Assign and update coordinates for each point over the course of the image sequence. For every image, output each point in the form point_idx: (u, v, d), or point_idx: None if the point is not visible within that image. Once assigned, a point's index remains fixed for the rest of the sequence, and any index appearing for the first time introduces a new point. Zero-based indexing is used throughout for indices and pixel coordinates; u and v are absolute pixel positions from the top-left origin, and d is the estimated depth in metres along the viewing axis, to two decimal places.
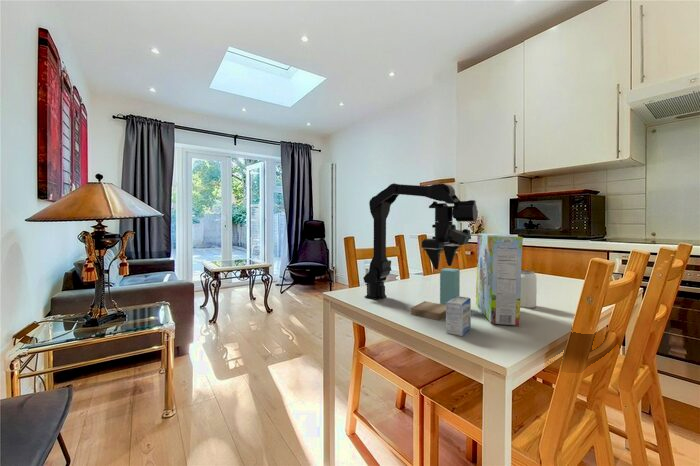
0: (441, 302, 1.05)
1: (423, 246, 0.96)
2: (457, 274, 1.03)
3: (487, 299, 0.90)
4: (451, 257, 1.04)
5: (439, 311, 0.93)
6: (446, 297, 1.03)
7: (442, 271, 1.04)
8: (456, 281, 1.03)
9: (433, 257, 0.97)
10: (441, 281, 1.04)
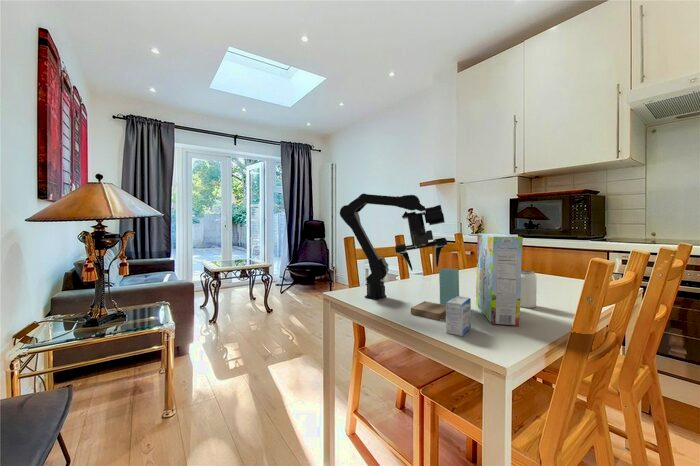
0: (441, 302, 1.05)
1: (396, 252, 1.15)
2: (456, 274, 1.04)
3: (487, 299, 0.90)
4: (435, 258, 1.09)
5: (439, 311, 0.93)
6: (446, 297, 1.03)
7: (441, 271, 1.04)
8: (456, 281, 1.03)
9: (407, 261, 1.12)
10: (440, 281, 1.04)
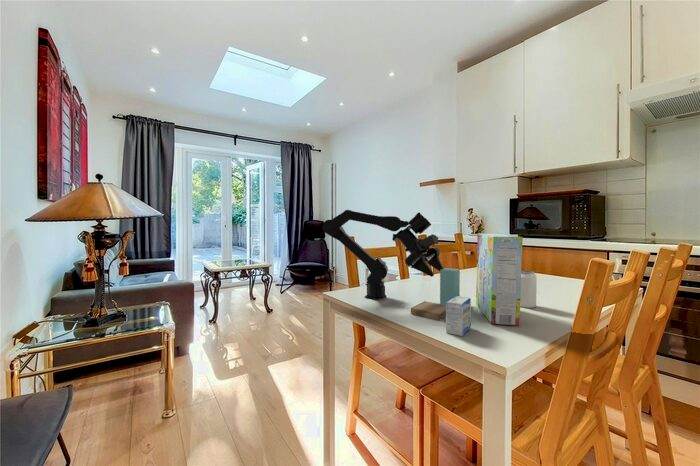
0: (441, 302, 1.05)
1: (408, 264, 1.05)
2: (457, 274, 1.03)
3: (487, 299, 0.90)
4: (439, 264, 1.12)
5: (439, 311, 0.93)
6: (446, 297, 1.03)
7: (442, 271, 1.04)
8: (456, 281, 1.03)
9: (423, 268, 1.05)
10: (441, 281, 1.04)
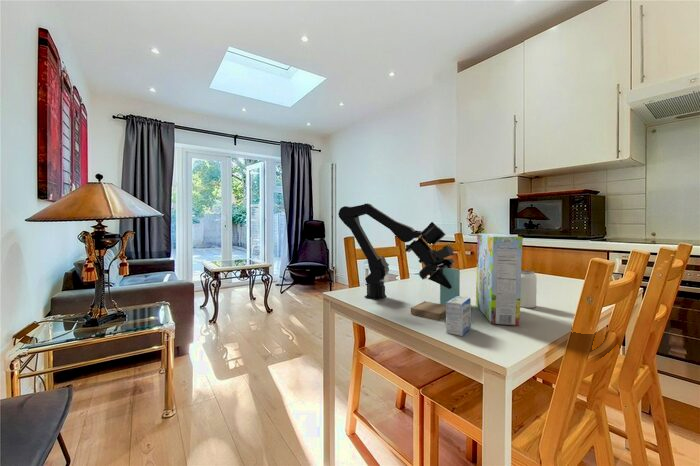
0: (441, 302, 1.05)
1: (423, 277, 1.01)
2: (457, 274, 1.03)
3: (487, 299, 0.90)
4: None
5: (439, 311, 0.93)
6: (446, 297, 1.03)
7: None
8: (456, 281, 1.03)
9: (440, 280, 1.03)
10: None
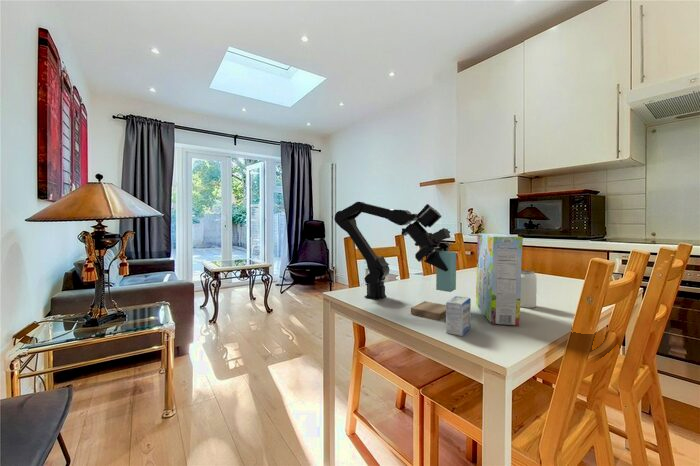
0: (437, 285, 1.03)
1: (419, 259, 0.99)
2: (453, 257, 1.02)
3: (487, 299, 0.90)
4: None
5: (439, 311, 0.93)
6: (443, 280, 1.01)
7: None
8: (453, 264, 1.01)
9: (437, 263, 1.01)
10: None
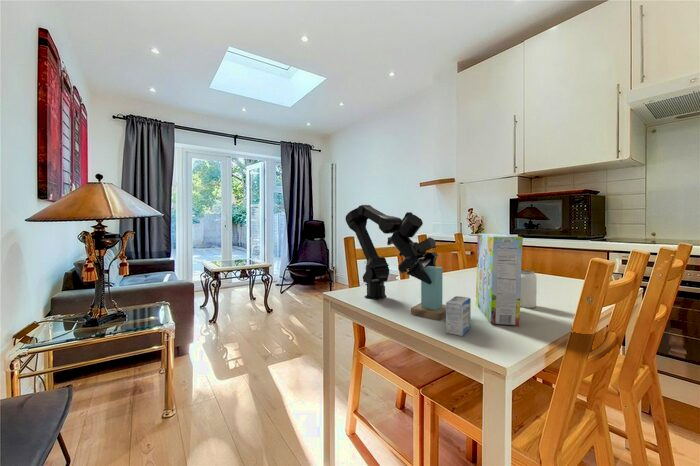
0: (422, 302, 0.97)
1: (402, 271, 0.94)
2: (439, 273, 0.96)
3: (487, 299, 0.90)
4: None
5: (439, 311, 0.93)
6: (428, 298, 0.96)
7: None
8: (438, 280, 0.96)
9: (420, 275, 0.95)
10: None
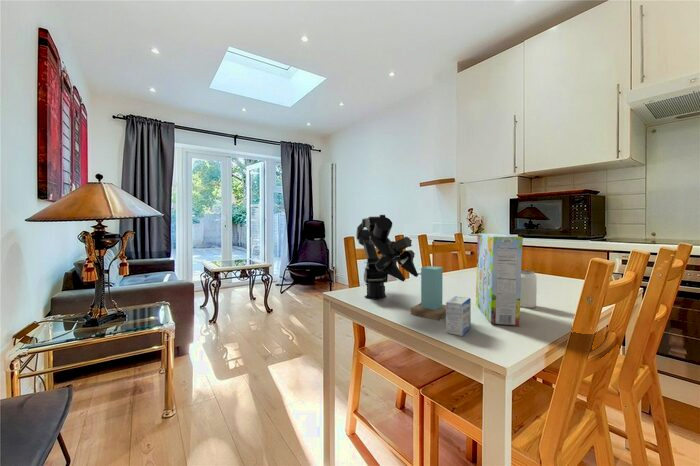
0: (422, 302, 0.97)
1: (379, 268, 0.99)
2: (439, 273, 0.96)
3: (487, 299, 0.90)
4: (412, 268, 1.07)
5: (439, 311, 0.93)
6: (428, 298, 0.96)
7: (423, 269, 0.96)
8: (438, 280, 0.96)
9: (394, 273, 1.00)
10: (422, 280, 0.97)
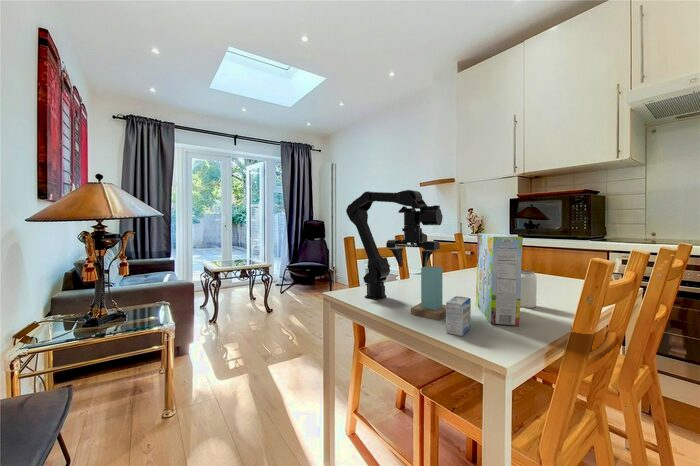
0: (422, 302, 0.97)
1: (434, 248, 1.00)
2: (439, 273, 0.96)
3: (487, 299, 0.90)
4: (401, 258, 1.11)
5: (439, 311, 0.93)
6: (428, 298, 0.96)
7: (423, 269, 0.96)
8: (438, 280, 0.96)
9: (426, 259, 1.04)
10: (422, 280, 0.97)
